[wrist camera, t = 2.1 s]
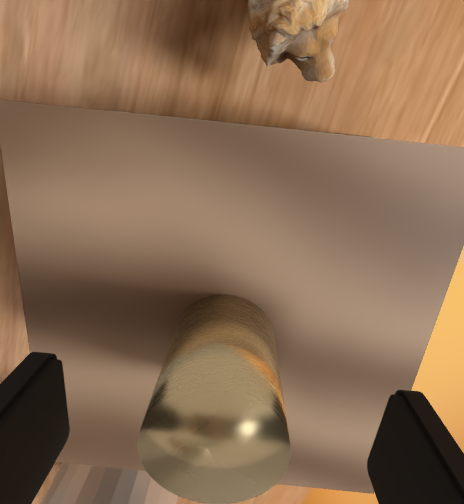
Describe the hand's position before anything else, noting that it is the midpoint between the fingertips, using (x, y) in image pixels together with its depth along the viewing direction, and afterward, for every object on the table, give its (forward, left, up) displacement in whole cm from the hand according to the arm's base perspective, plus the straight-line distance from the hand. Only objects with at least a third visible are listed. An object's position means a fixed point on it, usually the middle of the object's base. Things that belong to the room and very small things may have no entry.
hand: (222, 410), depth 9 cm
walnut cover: (0, 0, -15) cm, 15 cm away
